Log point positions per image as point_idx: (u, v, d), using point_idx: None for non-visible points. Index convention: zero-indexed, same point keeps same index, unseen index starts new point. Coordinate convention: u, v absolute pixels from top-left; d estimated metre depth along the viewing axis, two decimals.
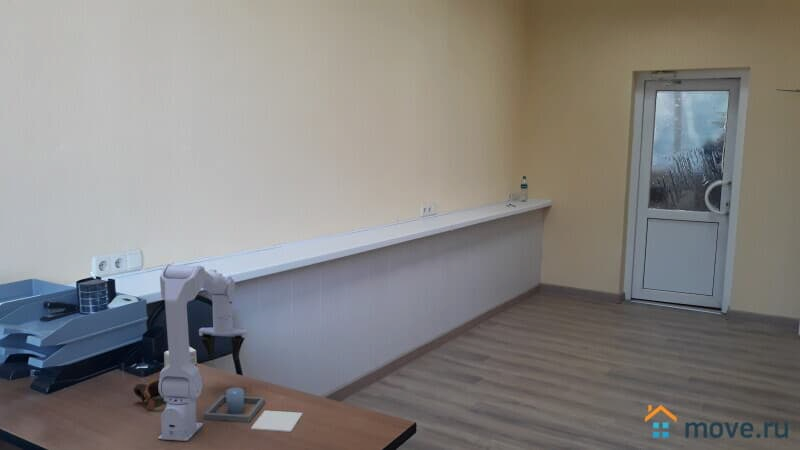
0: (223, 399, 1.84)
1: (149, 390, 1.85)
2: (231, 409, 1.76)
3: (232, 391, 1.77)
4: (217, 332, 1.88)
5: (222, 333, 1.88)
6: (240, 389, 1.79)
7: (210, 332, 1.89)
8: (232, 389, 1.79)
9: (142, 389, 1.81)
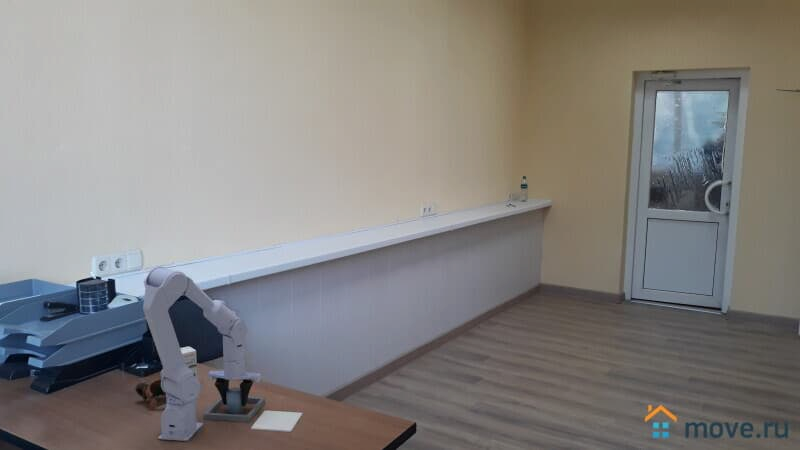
0: None
1: (151, 389, 1.85)
2: (231, 409, 1.76)
3: (232, 391, 1.77)
4: (228, 376, 1.75)
5: (233, 378, 1.75)
6: (240, 389, 1.79)
7: (220, 376, 1.76)
8: (232, 389, 1.79)
9: (144, 388, 1.82)
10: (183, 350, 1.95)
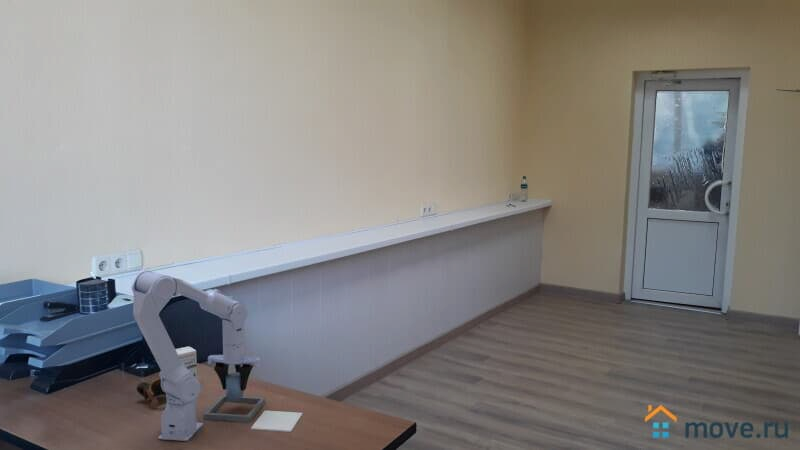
0: (223, 399, 1.84)
1: (152, 389, 1.86)
2: (230, 394, 1.76)
3: (231, 376, 1.77)
4: (227, 361, 1.74)
5: (233, 362, 1.74)
6: (239, 374, 1.78)
7: (220, 360, 1.75)
8: (231, 374, 1.78)
9: (145, 388, 1.82)
10: (183, 350, 1.95)
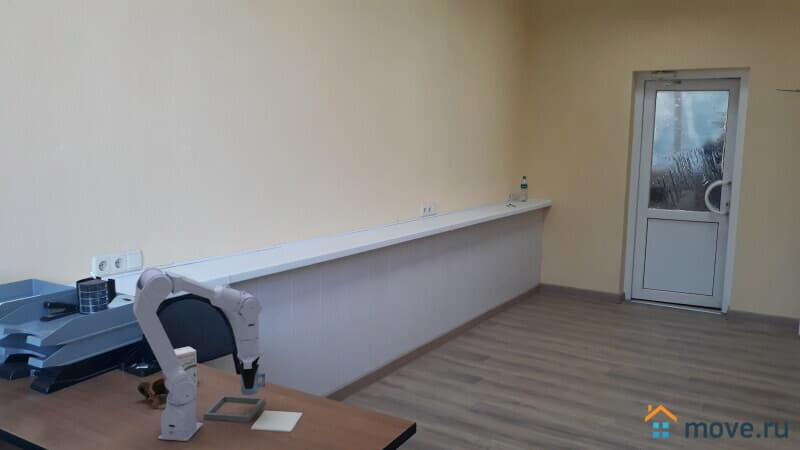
0: (223, 399, 1.84)
1: (153, 388, 1.86)
2: None
3: None
4: (238, 352, 1.74)
5: (238, 355, 1.72)
6: None
7: None
8: None
9: (146, 387, 1.82)
10: (183, 350, 1.95)
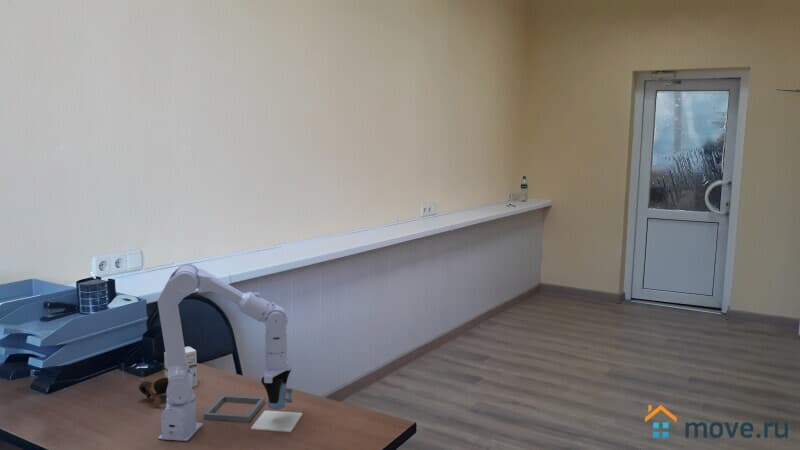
0: (223, 399, 1.84)
1: (154, 387, 1.86)
2: None
3: None
4: None
5: (265, 367, 1.70)
6: None
7: None
8: None
9: (148, 386, 1.83)
10: None
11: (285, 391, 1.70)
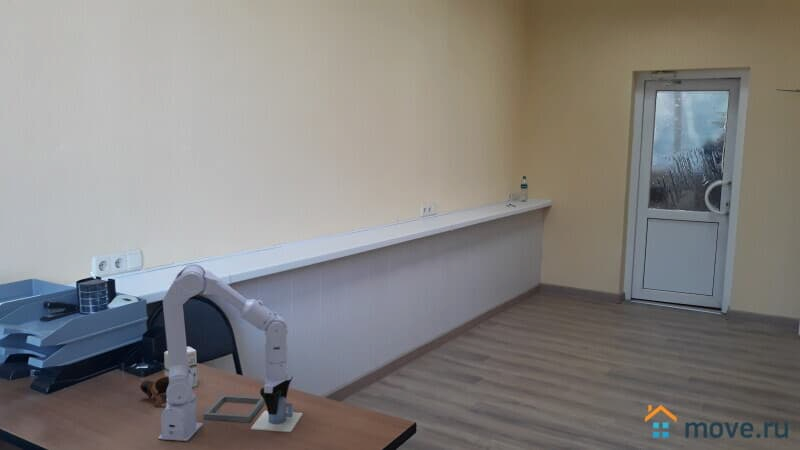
0: (223, 399, 1.84)
1: (155, 387, 1.87)
2: None
3: None
4: None
5: (265, 377, 1.70)
6: (279, 401, 1.70)
7: None
8: (281, 398, 1.72)
9: (149, 386, 1.83)
10: None
11: (285, 406, 1.71)
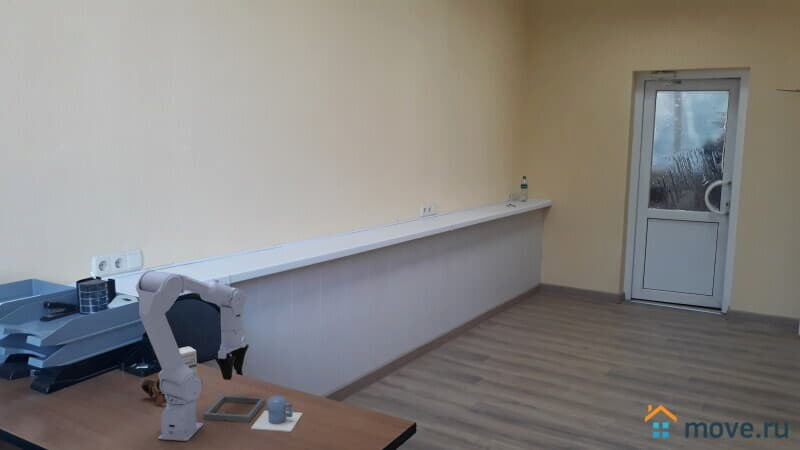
0: (223, 399, 1.84)
1: (156, 386, 1.87)
2: None
3: (274, 398, 1.72)
4: None
5: (221, 344, 1.79)
6: (279, 401, 1.70)
7: None
8: (280, 398, 1.72)
9: (150, 385, 1.84)
10: (183, 350, 1.95)
11: (285, 406, 1.71)
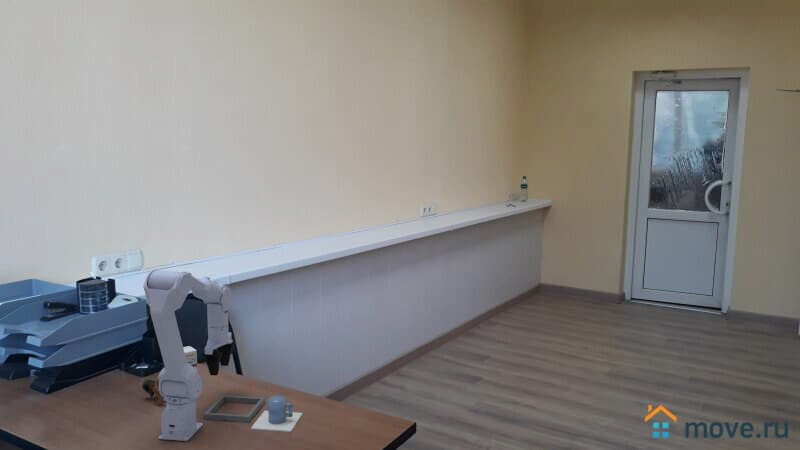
0: (223, 399, 1.84)
1: (157, 386, 1.88)
2: None
3: (274, 398, 1.72)
4: None
5: (207, 341, 1.83)
6: (279, 401, 1.70)
7: None
8: (280, 397, 1.72)
9: (151, 385, 1.84)
10: None
11: (285, 405, 1.71)
